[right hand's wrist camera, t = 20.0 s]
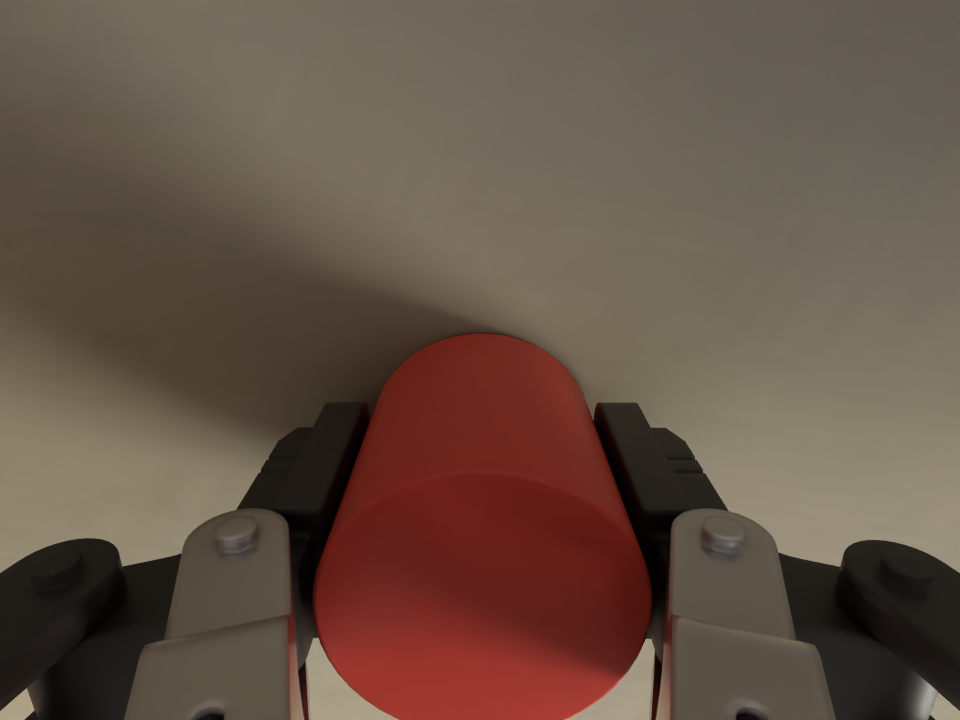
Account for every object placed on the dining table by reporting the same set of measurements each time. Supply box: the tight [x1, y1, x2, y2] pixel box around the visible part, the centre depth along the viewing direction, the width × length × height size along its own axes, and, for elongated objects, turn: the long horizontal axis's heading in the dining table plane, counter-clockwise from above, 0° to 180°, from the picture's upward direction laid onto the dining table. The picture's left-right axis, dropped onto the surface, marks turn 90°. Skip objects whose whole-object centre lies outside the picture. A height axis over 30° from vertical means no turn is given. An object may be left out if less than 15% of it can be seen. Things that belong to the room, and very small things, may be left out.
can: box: [312, 333, 652, 720], centre depth 10 cm, size 4×4×5 cm
